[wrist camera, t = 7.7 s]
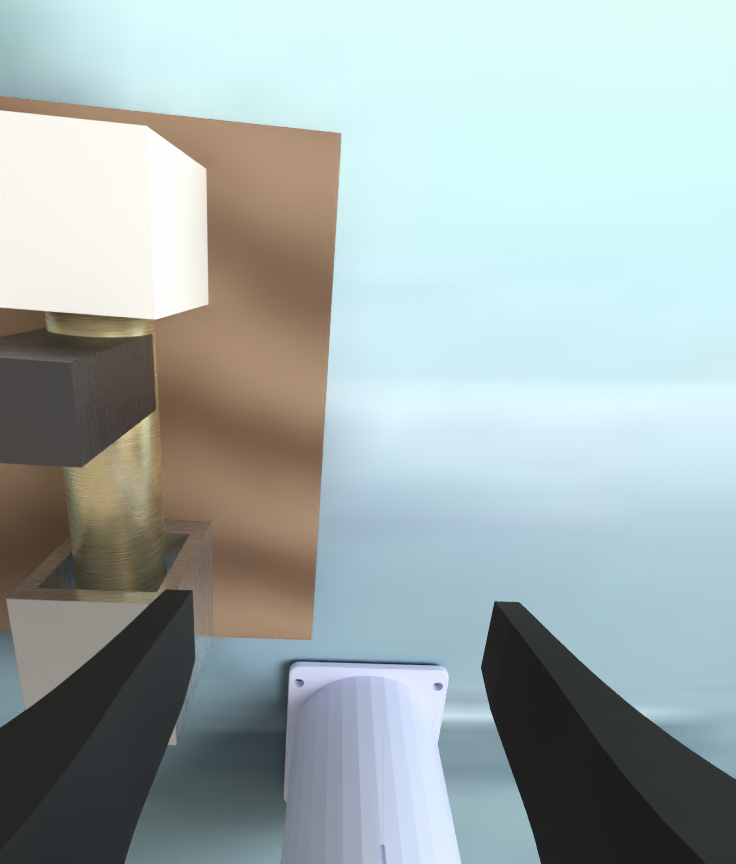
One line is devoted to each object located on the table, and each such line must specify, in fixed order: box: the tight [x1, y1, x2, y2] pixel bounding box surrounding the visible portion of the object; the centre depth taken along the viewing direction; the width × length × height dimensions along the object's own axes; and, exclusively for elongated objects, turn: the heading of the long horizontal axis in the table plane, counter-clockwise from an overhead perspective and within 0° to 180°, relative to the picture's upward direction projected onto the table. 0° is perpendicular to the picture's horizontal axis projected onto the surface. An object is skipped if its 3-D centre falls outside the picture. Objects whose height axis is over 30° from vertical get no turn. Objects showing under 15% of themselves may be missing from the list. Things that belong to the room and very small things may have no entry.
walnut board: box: [0, 96, 341, 640], centre depth 20 cm, size 21×14×1 cm, turn 175°
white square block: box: [0, 110, 208, 320], centre depth 15 cm, size 4×5×6 cm
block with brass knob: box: [0, 311, 167, 592], centre depth 15 cm, size 14×3×7 cm, turn 175°
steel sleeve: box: [6, 519, 214, 745], centre depth 19 cm, size 6×5×6 cm
